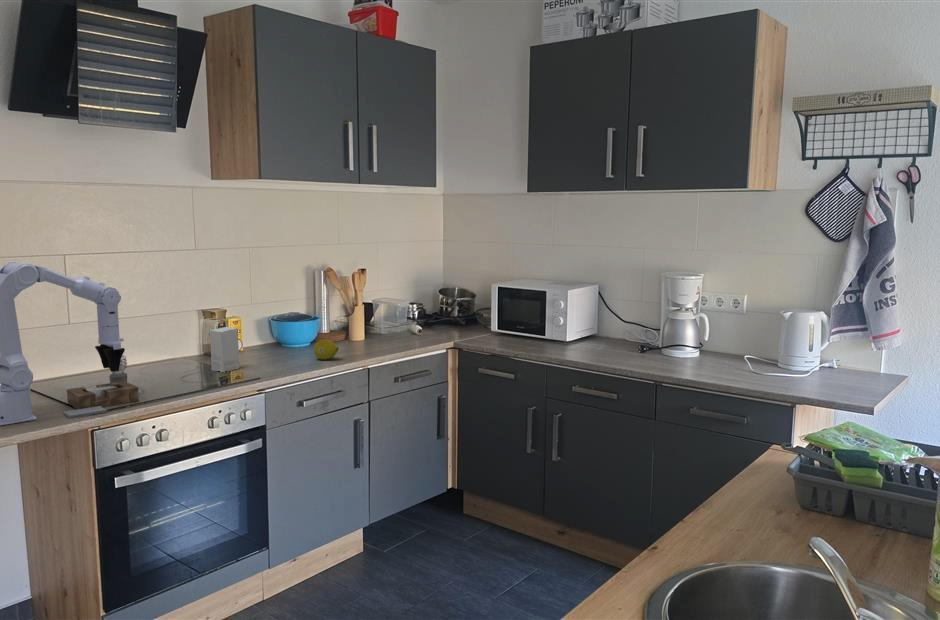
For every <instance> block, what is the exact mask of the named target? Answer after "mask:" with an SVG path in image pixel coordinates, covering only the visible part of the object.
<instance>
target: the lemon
mask: <svg viewBox="0 0 940 620" xmlns="http://www.w3.org/2000/svg"><path fill="white" fill-rule="evenodd" d="M338 352H339V346H338V345H337V344H336V343H335V342H333V341H332V340H330V339H329V340H328V339H321V340H318V341H316V343H315V344H314V347H313V354H314V356H315V357H316V358H317V359H318V360H321V361H327V360H331V359H332V358H334V357H335V356H336V355H337V353H338Z"/></svg>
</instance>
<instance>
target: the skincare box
mask: <svg viewBox="0 0 940 620" xmlns="http://www.w3.org/2000/svg"><path fill="white" fill-rule="evenodd" d="M209 338H210V339H209V340H210V356H211V357H210V360H211V361H210V362H211V363H210V364H211V371H212V372H216V371H220V372H219V373H222V372H224V373H226V372H225V371H227V372H231V371H234V370H239V369H240V353H239V352H240V349H239V328H238V327H232V326H224V327H220V328H214V329H209Z"/></svg>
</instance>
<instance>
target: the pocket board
mask: <svg viewBox="0 0 940 620" xmlns="http://www.w3.org/2000/svg"><path fill="white" fill-rule="evenodd" d="M106 386H115V387H117V388H115V389H108V390H105V393H106V397H104V398H97V399H96V395H95V393H93V392H88V393H86V392H85V390H86V389H87V388H86V387H84V386H81V387H73V388H67V389H66V397H67V398H66V399H67V404H68V403H69V404H70V405H69V404H68V405H69V406H71V405H72V406H73V407H72V406H71V407H72V408H74V409H75V410H78V409H84V408H90V407H96V406H101V407H103V408H107V407H111V406H119V405H124V404H131V403H137V402H139V401H140V399H139V398H140V397H139V387H138V386H136V385H134V384H132V383H129V382H128V381H127V382H126V381H122V382H115V383H110V382H108V383H103V384H96V385H95V388H99V387H106Z"/></svg>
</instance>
